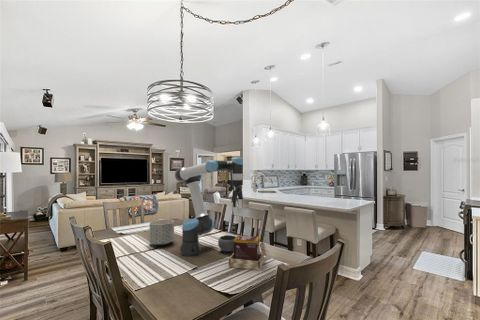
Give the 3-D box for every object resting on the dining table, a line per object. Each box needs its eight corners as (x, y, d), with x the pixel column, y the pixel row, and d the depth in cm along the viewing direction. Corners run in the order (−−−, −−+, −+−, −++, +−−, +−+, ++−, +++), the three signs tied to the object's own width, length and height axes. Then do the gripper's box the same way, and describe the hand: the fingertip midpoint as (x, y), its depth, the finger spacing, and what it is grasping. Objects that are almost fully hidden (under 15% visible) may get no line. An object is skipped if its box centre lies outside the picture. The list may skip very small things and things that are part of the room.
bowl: (241, 249, 185) (241, 235, 186) (232, 255, 172) (232, 241, 172) (224, 246, 192) (224, 233, 192) (214, 252, 178) (214, 238, 178)
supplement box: (257, 266, 151) (257, 241, 151) (233, 264, 154) (233, 239, 155) (259, 260, 161) (259, 236, 162) (237, 258, 164) (237, 234, 165)
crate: (228, 266, 153) (228, 258, 153) (235, 258, 167) (235, 250, 167) (259, 270, 148) (259, 261, 148) (263, 260, 162) (263, 253, 162)
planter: (144, 246, 192) (144, 223, 193) (160, 239, 210) (160, 218, 210) (163, 249, 185) (163, 225, 186) (178, 242, 203) (178, 220, 203)
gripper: (237, 180, 157) (237, 213, 157) (246, 178, 182) (246, 207, 181) (226, 180, 159) (226, 213, 159) (237, 178, 184) (237, 206, 183)
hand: (237, 210), depth 170 cm, fingers open, 13 cm apart
